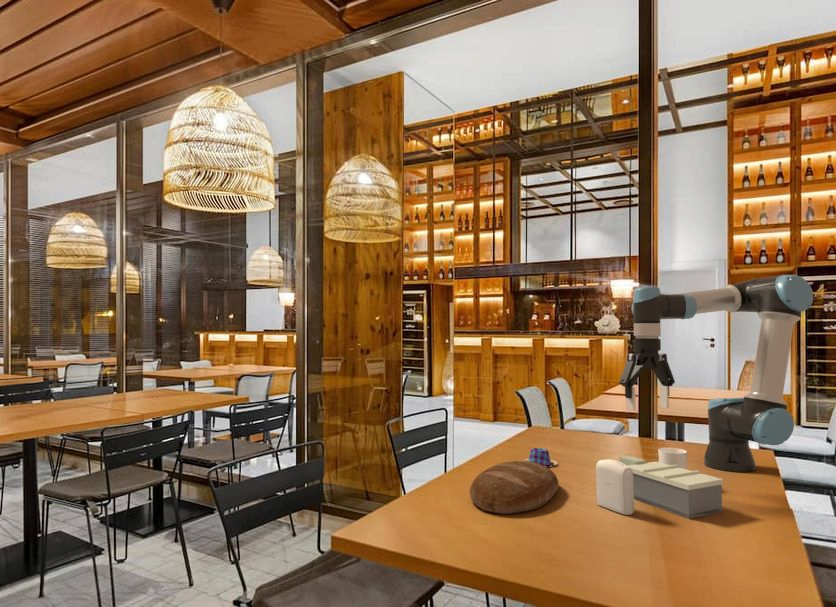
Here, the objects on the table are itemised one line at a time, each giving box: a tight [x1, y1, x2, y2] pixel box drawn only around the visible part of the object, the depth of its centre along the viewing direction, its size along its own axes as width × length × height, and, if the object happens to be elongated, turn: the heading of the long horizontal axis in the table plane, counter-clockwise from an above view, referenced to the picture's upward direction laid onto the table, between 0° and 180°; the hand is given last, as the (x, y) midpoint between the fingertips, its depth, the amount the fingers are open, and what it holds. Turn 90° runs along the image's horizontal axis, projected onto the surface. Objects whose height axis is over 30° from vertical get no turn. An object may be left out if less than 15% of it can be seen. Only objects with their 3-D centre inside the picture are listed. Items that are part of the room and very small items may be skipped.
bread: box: [469, 460, 559, 515], centre depth 150 cm, size 22×37×8 cm, turn 152°
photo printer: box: [595, 458, 635, 516], centre depth 138 cm, size 10×4×12 cm, turn 26°
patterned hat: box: [522, 447, 558, 468], centre depth 186 cm, size 12×12×5 cm
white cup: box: [657, 447, 688, 470], centre depth 161 cm, size 8×8×10 cm
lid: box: [618, 455, 724, 490], centre depth 145 cm, size 13×27×3 cm, turn 24°
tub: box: [633, 473, 723, 520], centre depth 142 cm, size 12×20×7 cm, turn 24°
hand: (647, 408), depth 161 cm, fingers open, 13 cm apart
